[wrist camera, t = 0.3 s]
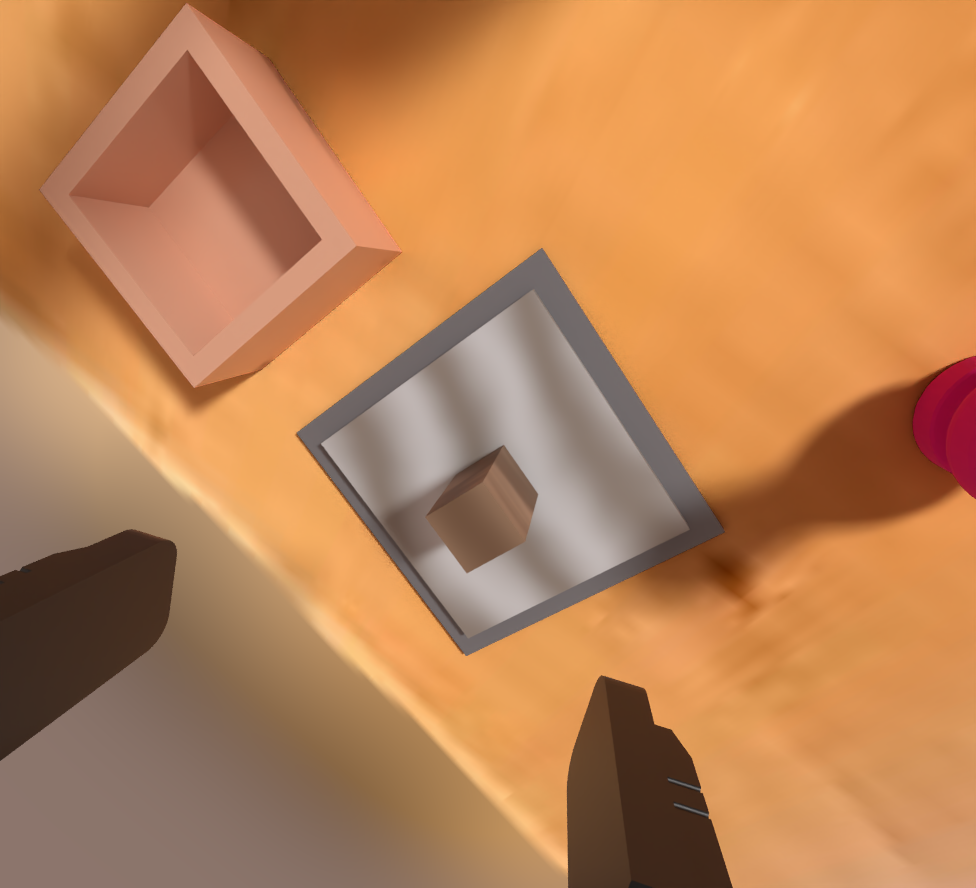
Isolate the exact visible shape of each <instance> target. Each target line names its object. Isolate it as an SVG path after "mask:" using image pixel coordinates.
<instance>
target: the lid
mask: <svg viewBox="0 0 976 888" xmlns="http://www.w3.org/2000/svg"><path fill="white" fill-rule="evenodd" d="M321 445H322V446H323V447H324V448H325V450H326V451H327V452H328V454H329V455H330V456H331V458H332V459H333V460H334V462H335V463H336V464H337V466H338V467H339V468H340V470H341V471H342V472H343V474H344V475H345V476H346V478H347V479H348V480H349V482H350V483H351V484H352V486H353V487H354V488H355V490H356V491H357V492H358V494H359V495H360V496H361V497H362V499H363V500H364V501H365V503H366V504H367V505H368V507H369V508H370V509H371V511H372V512H373V513H374V515H375V516H376V517H377V519H378V520H379V521H380V523H381V524H382V525H383V527H384V528H385V529H386V531H387V532H388V533H389V535H390V536H391V537H392V539H393V540H394V541H395V543H396V544H397V545H398V546H399V548H400V549H401V550H402V552H403V553H404V554H405V556H406V557H407V558H408V560H409V561H410V562H411V564H412V565H413V566H414V568H415V569H416V570H417V572H418V573H419V574H420V576H421V577H422V578H423V580H424V581H425V582H426V584H427V585H428V586H429V588H430V589H431V590H432V592H433V593H434V594H435V595H436V597H437V598H438V599H439V601H440V602H441V603H442V605H443V606H444V607H445V609H446V610H447V611H448V613H449V614H450V615H451V617H452V618H453V619H454V621H455V622H456V623H457V625H458V626H459V627H460V629H461V630H462V631H463V633H464V634H465V635H466V637H467V638H470V637H472V636H474V635H476V634H478V633H480V632H482V631H484V630H487V629H489V628H491V627H493V626H495V625H497V624H499V623H501V622H503V621H505V620H507V619H509V618H511V617H513V616H515V615H517V614H519V613H521V612H523V611H525V610H527V609H529V608H531V607H533V606H535V605H537V604H539V603H541V602H543V601H545V600H547V599H550V598H552V597H554V596H556V595H558V594H560V593H562V592H564V591H566V590H568V589H570V588H572V587H574V586H576V585H578V584H580V583H582V582H584V581H586V580H588V579H590V578H592V577H594V576H596V575H598V574H600V573H602V572H604V571H606V570H608V569H611V568H613V567H615V566H617V565H619V564H621V563H623V562H625V561H627V560H629V559H631V558H633V557H635V556H637V555H639V554H641V553H643V552H645V551H647V550H649V549H651V548H653V547H655V546H657V545H659V544H661V543H663V542H665V541H667V540H669V539H671V538H674V537H676V536H678V535H680V534H682V533H684V532H686V531H688V530H690V529H689V526H688V523H687V522H686V520H685V519H684V517H683V516H682V514H681V513H680V511H679V509H678V508H677V506H676V505H675V503H674V502H673V500H672V499H671V497H670V496H669V494H668V493H667V491H666V490H665V488H664V487H663V485H662V484H661V482H660V480H659V479H658V477H657V476H656V474H655V473H654V471H653V470H652V468H651V467H650V465H649V464H648V462H647V461H646V459H645V458H644V456H643V455H642V453H641V452H640V450H639V448H638V447H637V445H636V444H635V442H634V441H633V439H632V438H631V436H630V435H629V433H628V432H627V430H626V429H625V427H624V426H623V424H622V423H621V421H620V419H619V418H618V416H617V415H616V413H615V412H614V410H613V409H612V407H611V406H610V404H609V403H608V401H607V400H606V398H605V397H604V395H603V394H602V392H601V390H600V389H599V387H598V386H597V384H596V383H595V381H594V380H593V378H592V377H591V375H590V374H589V372H588V371H587V369H586V368H585V366H584V365H583V363H582V362H581V360H580V358H579V357H578V355H577V354H576V352H575V351H574V349H573V348H572V346H571V345H570V343H569V342H568V340H567V339H566V337H565V336H564V334H563V333H562V331H561V329H560V328H559V326H558V325H557V323H556V322H555V320H554V319H553V317H552V316H551V314H550V313H549V311H548V310H547V308H546V307H545V305H544V304H543V302H542V300H541V299H540V297H539V296H538V294H537V293H536V291H535V290H534V289H533V290H531V291H530V292H529V293H527V294H526V295H524V296H523V297H522V298H520V299H519V300H518V301H516V302H515V303H513V304H512V305H511V306H509V307H508V308H507V309H505V310H504V311H502V312H501V313H500V314H498V315H497V316H496V317H494V318H493V319H491V320H490V321H489V322H487V323H486V324H485V325H483V326H482V327H480V328H479V329H478V330H476V331H475V332H474V333H472V334H471V335H469V336H468V337H467V338H465V339H464V340H463V341H461V342H460V343H458V344H457V345H456V346H454V347H453V348H452V349H450V350H449V351H447V352H446V353H445V354H443V355H442V356H441V357H439V358H438V359H437V360H435V361H434V362H432V363H431V364H430V365H428V366H427V367H426V368H424V369H423V370H421V371H420V372H419V373H417V374H416V375H415V376H413V377H412V378H410V379H409V380H408V381H406V382H405V383H404V384H402V385H401V386H399V387H398V388H397V389H395V390H394V391H393V392H391V393H390V394H388V395H387V396H386V397H384V398H383V399H382V400H380V401H379V402H377V403H376V404H375V405H373V406H372V407H371V408H369V409H368V410H366V411H365V412H364V413H362V414H361V415H360V416H358V417H357V418H355V419H354V420H353V421H351V422H350V423H349V424H347V425H346V426H344V427H343V428H342V429H340V430H339V431H338V432H336V433H335V434H334V435H332V436H331V437H329V438H328V439H327V440H325V441H324V442H323V443H321Z"/></svg>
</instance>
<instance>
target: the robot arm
mask: <svg viewBox="0 0 976 888" xmlns="http://www.w3.org/2000/svg"><path fill="white" fill-rule="evenodd" d="M176 557H177V549H176V546H175V544H174V543H173V542H171V541H169V540H166V539H163V538H160V537H156V536H153V535H150V534H147V533H143V532H140V531H137V530H132V529H131V530H126V531H123V532H121V533H119V534H116V535H114V536H112V537H109V538H107V539H105V540H102V541H100V542H98V543H95V544H93V545H91V546H88V547H85V548H80V549H75V550H71V551H66V552H61V553H56V554H53V555H50V556H48V557H45V558H43V559H41V560H38V561H36V562H33V563H31V564H29V565H26V566H24V567H22V568H21V570H20V571H17V570H14V571H12V572H9V573H7V574H5V575H2V576H0V761H1V760H2V759H3V758H5V757H6V756H7V755H9V754H10V753H11V752H12V751H14V750H15V749H17V748H18V747H19V746H21V745H22V744H24V743H25V742H26V741H27V740H29V739H30V738H32V737H33V736H34V735H36V734H37V733H38V732H40V731H41V730H42V729H43V728H45V727H46V726H48V725H49V724H50V723H52V722H53V721H54V720H56V719H57V718H58V717H60V716H61V715H62V714H64V713H65V712H66V711H68V710H69V709H70V708H72V707H73V706H74V705H76V704H77V703H78V702H80V701H81V700H82V699H83V698H85V697H87V696H88V695H89V694H91V693H92V692H93V691H95V690H96V689H97V688H98V687H100V686H101V685H102V684H104V683H105V682H106V681H108V680H109V679H111V678H112V677H113V676H115V675H116V674H117V673H119V672H120V671H121V670H123V669H124V668H125V667H127V666H128V665H129V664H131V663H132V662H133V661H135V660H136V659H137V658H139V657H140V656H141V655H143V654H144V653H145V652H147V651H148V650H149V649H150V648H151V647H152V646H153V645H154V644H155V643H156V642H157V640H158V639H159V637H160V636H161V634H162V632H163V630H164V628H165V626H166V624H167V621H168V617H169V610H170V603H171V595H172V588H173V580H174V572H175V565H176ZM700 789H701V786H700V783H699V780H698V777H697V773H696V770H695V767H694V764H693V761H692V758H691V756H690V755H689V754H688V752H687V751H686V749H685V748H684V747H683V745H682V744H681V743H680V741H679V740H678V738H677V737H676V736H675V734H674V733H673V731H672V730H670V729H667V728H664V727H661V726H658V725H655V724H654V721H653V717H652V713H651V709H650V705H649V701H648V697H647V693H646V691H645V689H644V688H641V687H638V686H635V685H631V684H628V683H625V682H622V681H619V680H615V679H612V678H609V677H606V676H600V677H599V678H598V680H597V682H596V684H595V687H594V690H593V693H592V696H591V699H590V702H589V705H588V708H587V711H586V714H585V716H584V719H583V722H582V725H581V728H580V731H579V734H578V737H577V740H576V743H575V746H574V749H573V753H572V757H571V761H570V766H569V772H568V781H567V830H568V888H733V887H732V884H731V881H730V878H729V875H728V871H727V868H726V865H725V862H724V859H723V856H722V852H721V849H720V846H719V843H718V840H717V837H716V834H715V830H714V827H713V824H712V821H711V819H709V818H708V815H709V811H708V808H707V805H706V802H705V799H704V796H703V793H700Z"/></svg>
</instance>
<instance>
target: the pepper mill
mask: <svg viewBox="0 0 976 888" xmlns="http://www.w3.org/2000/svg"><path fill="white" fill-rule="evenodd" d="M913 434H914V437H915V440H916V443H917V445H918V447H919V449H920V450H921V452H922V453H923V454H924V455H925V456H926V457H927V458H928V459H929V460H930V461H932V462H933V463H934V464H936V465H938V466H939V467H941V468H943V469H945V470H947V471H948V472H950V473H952V474H953V475H954V477H955V478H956V480H957V481H958V483H959V484H960V486H961V487H962V488H963V489H964V490H966V491H967V492H968V493H969V494H970V495H971V496H972V497H974V498H975V499H976V356H974V357H971V358H968V359H965V360H963V361H961V362H959V363H957V364H955V365H953V366H951V367H950V368H948V369H947V370H945V371H944V372H942V373H941V374H940V375H938V376H937V377H936V378H935V379H934V380H933V381H932V382H931V383H930V384H929V385H928V386H927V387H926V389H925V391H924V392H923V394H922V395H921V397H920V399H919V401H918V403H917V404H916V408H915V412H914V417H913Z"/></svg>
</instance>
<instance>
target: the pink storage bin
mask: <svg viewBox="0 0 976 888" xmlns="http://www.w3.org/2000/svg"><path fill="white" fill-rule="evenodd" d="M39 190H40V192H41V193H42V194H43V195H44V197H45V198H46V199H47V201H48V202H49V203H50V204H51V206H52V207H53V208H54V209H55V211H56V212H57V213H58V215H59V216H60V217H61V218H62V220H63V221H64V222H65V224H66V225H67V226H68V227H69V229H70V230H71V231H72V233H73V234H74V235H75V236H76V238H77V239H78V240H79V241H80V243H81V244H82V245H83V247H84V248H85V249H86V250H87V252H88V253H89V254H90V256H91V257H92V258H93V259H94V261H95V262H96V263H97V265H98V266H99V267H100V268H101V270H102V271H103V272H104V273H105V275H106V276H107V277H108V279H109V280H110V281H111V282H112V284H113V285H114V286H115V288H116V289H117V290H118V291H119V293H120V294H121V295H122V296H123V298H124V299H125V300H126V302H127V303H128V304H129V305H130V307H131V308H132V309H133V311H134V312H135V313H136V314H137V316H138V317H139V318H140V320H141V321H142V322H143V323H144V325H145V326H146V327H147V328H148V330H149V331H150V332H151V334H152V335H153V336H154V337H155V339H156V340H157V341H158V343H159V344H160V345H161V346H162V348H163V349H164V350H165V352H166V353H167V354H168V355H169V357H170V358H171V359H172V360H173V362H174V363H175V364H176V366H177V367H178V368H179V369H180V371H181V372H182V373H183V375H184V376H185V377H186V378H187V380H188V381H189V382H190V383H191V385H192V386H193V387H194V388H196V387H200V386H203V385H207V384H211V383H214V382H218V381H222V380H225V379H229V378H233V377H236V376H240V375H244V374H248V373H251V372H255V371H259V370H262V369H263V368H264V367H265V366H267V365H268V364H269V363H270V362H271V361H272V360H274V359H275V358H276V357H277V356H278V355H280V354H281V353H282V352H283V351H284V350H286V349H287V348H288V347H289V346H290V345H292V344H293V343H294V342H295V341H296V340H298V339H299V338H300V337H301V336H302V335H304V334H305V333H306V332H307V331H308V330H310V329H311V328H312V327H313V326H314V325H315V324H317V323H318V322H319V321H320V320H321V319H323V318H324V317H325V316H326V315H327V314H329V313H330V312H331V311H332V310H333V309H335V308H336V307H337V306H338V305H339V304H341V303H342V302H343V301H344V300H345V299H347V298H348V297H349V296H350V295H351V294H352V293H354V292H355V291H356V290H357V289H358V288H360V287H361V286H362V285H363V284H364V283H366V282H367V281H368V280H369V279H370V278H372V277H373V276H374V275H375V274H376V273H378V272H379V271H380V270H381V269H382V268H384V267H385V266H386V265H387V264H388V263H390V262H391V261H392V260H393V259H394V258H395V257H397V256H398V255H399V254H400V253H401V252H402V251H401V250H400V248H399V247H398V245H397V244H396V242H395V241H394V240H393V238H392V237H391V235H390V234H389V232H388V231H387V229H386V228H385V226H384V225H383V224H382V222H381V221H380V219H379V218H378V216H377V215H376V213H375V212H374V210H373V209H372V208H371V206H370V205H369V203H368V202H367V200H366V199H365V197H364V196H363V194H362V193H361V192H360V190H359V189H358V187H357V186H356V184H355V183H354V181H353V180H352V178H351V177H350V176H349V174H348V173H347V171H346V170H345V168H344V167H343V165H342V164H341V162H340V161H339V160H338V158H337V157H336V155H335V154H334V152H333V151H332V149H331V148H330V146H329V145H328V144H327V142H326V141H325V139H324V138H323V136H322V135H321V133H320V132H319V130H318V129H317V128H316V126H315V125H314V123H313V122H312V120H311V119H310V117H309V116H308V114H307V113H306V112H305V110H304V109H303V107H302V106H301V104H300V103H299V101H298V100H297V98H296V97H295V96H294V94H293V93H292V91H291V90H290V88H289V87H288V85H287V84H286V82H285V81H284V80H283V78H282V77H281V75H280V74H279V72H278V71H277V69H276V68H275V66H274V65H273V64H272V62H271V61H270V59H269V58H268V57H266V56H265V55H264V54H262V53H261V52H259V51H258V50H256V49H255V48H253V47H252V46H250V45H249V44H247V43H246V42H244V41H243V40H241V39H240V38H238V37H237V36H235V35H234V34H232V33H231V32H229V31H228V30H226V29H225V28H223V27H222V26H220V25H219V24H217V23H216V22H214V21H213V20H211V19H210V18H208V17H207V16H205V15H204V14H202V13H201V12H199V11H198V10H196V9H195V8H193V7H192V6H190V5H189V4H187V3H186V4H185V5H184V6H183V8H182V9H181V10H180V12H179V13H178V14H177V15H176V17H175V18H174V19H173V20H172V22H171V23H170V24H169V26H168V27H167V28H166V29H165V31H164V32H163V33H162V34H161V36H160V37H159V38H158V39H157V41H156V42H155V43H154V45H153V46H152V47H151V48H150V50H149V51H148V52H147V53H146V55H145V56H144V57H143V59H142V60H141V61H140V62H139V64H138V65H137V66H136V67H135V69H134V70H133V71H132V72H131V74H130V75H129V76H128V78H127V79H126V80H125V81H124V83H123V84H122V85H121V86H120V88H119V89H118V90H117V91H116V93H115V94H114V95H113V97H112V98H111V99H110V100H109V102H108V103H107V104H106V105H105V107H104V108H103V109H102V111H101V112H100V113H99V114H98V116H97V117H96V118H95V119H94V121H93V122H92V123H91V124H90V126H89V127H88V128H87V130H86V131H85V132H84V133H83V135H82V136H81V137H80V138H79V140H78V141H77V142H76V144H75V145H74V146H73V147H72V149H71V150H70V151H69V152H68V154H67V155H66V156H65V157H64V159H63V160H62V161H61V163H60V164H59V165H58V166H57V168H56V169H55V170H54V171H53V173H52V174H51V175H50V176H49V178H48V179H47V180H46V182H45V183H44V184H43V185H42V187H41V188H40V189H39Z"/></svg>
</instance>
